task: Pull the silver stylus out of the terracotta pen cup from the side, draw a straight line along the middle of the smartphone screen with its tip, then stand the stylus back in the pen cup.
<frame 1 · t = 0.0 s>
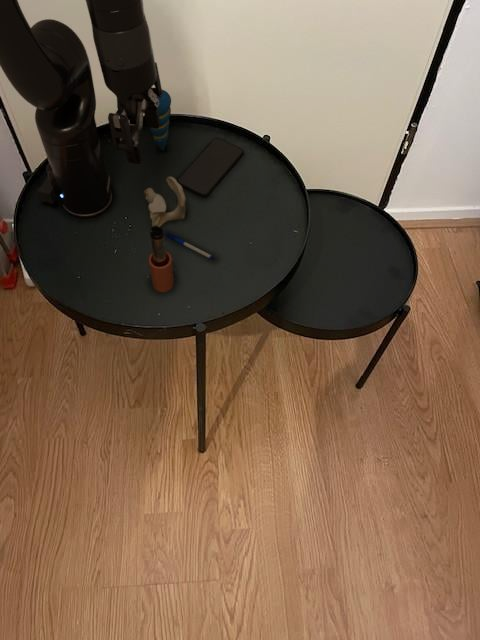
hand: (144, 144, 89), 17 cm above the table, tool pointing down, fingers open, 8 cm apart
bone: (162, 218, 104), on the table
smartphone: (210, 168, 111), on the table
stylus: (163, 281, 96), resting on pen cup
ballpoint pen: (190, 248, 101), on the table
pen cup: (163, 283, 97), on the table
ornament: (162, 150, 113), on the table
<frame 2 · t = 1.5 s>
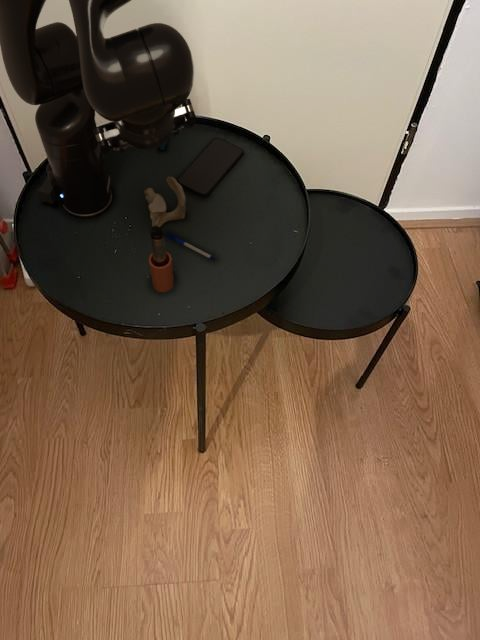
hand: (147, 136, 84), 21 cm above the table, tool tilted 40°, fingers open, 8 cm apart
nothing on the table moved.
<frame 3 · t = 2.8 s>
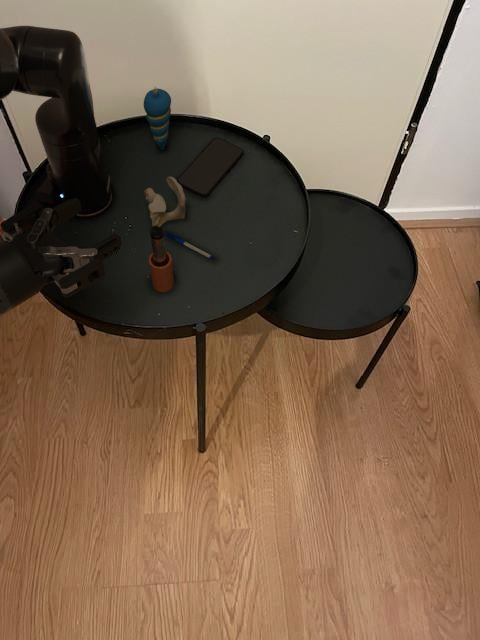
hand: (99, 221, 74), 23 cm above the table, tool horizontal, fingers open, 8 cm apart
nothing on the table moved.
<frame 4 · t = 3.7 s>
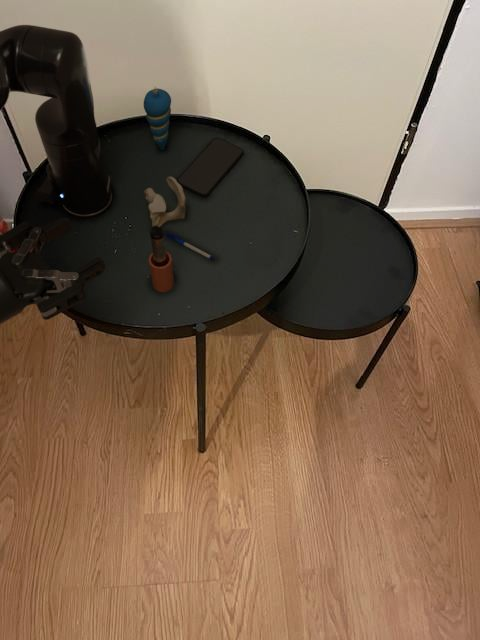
hand: (85, 242, 75), 20 cm above the table, tool horizontal, fingers open, 8 cm apart
nothing on the table moved.
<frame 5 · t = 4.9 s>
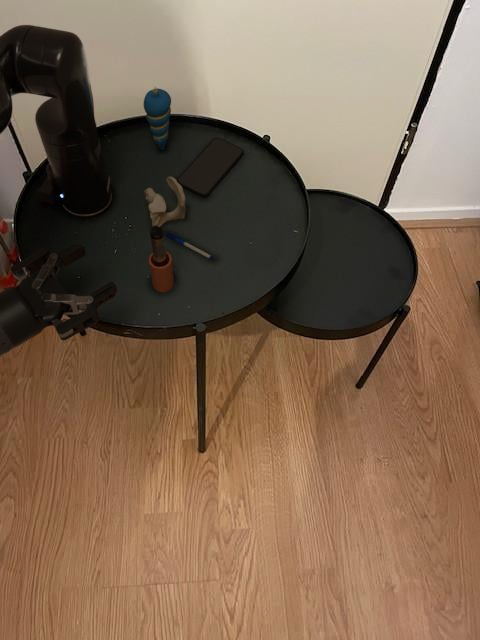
hand: (99, 267, 81), 14 cm above the table, tool horizontal, fingers open, 8 cm apart
nothing on the table moved.
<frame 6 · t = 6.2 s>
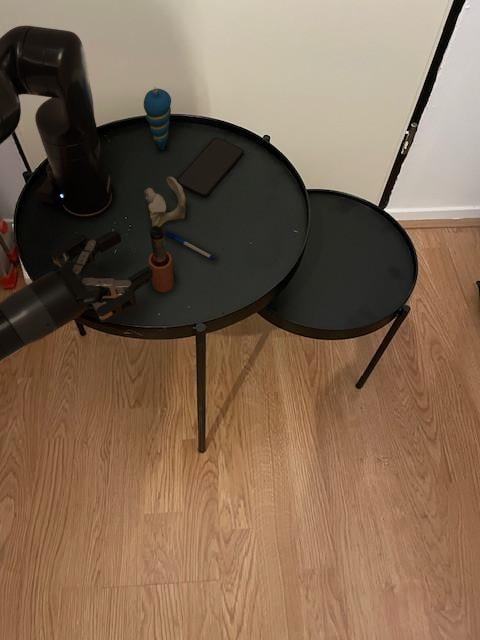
hand: (134, 252, 85), 12 cm above the table, tool horizontal, fingers open, 8 cm apart
nothing on the table moved.
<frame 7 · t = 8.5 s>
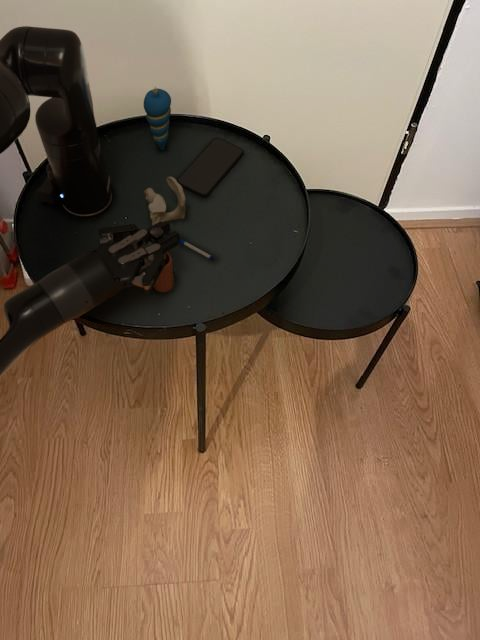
hand: (172, 230, 87), 12 cm above the table, tool horizontal, fingers closed on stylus, 2 cm apart
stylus: (163, 281, 96), point 1 cm above the table, touching gripper, pen cup
everything else where it was.
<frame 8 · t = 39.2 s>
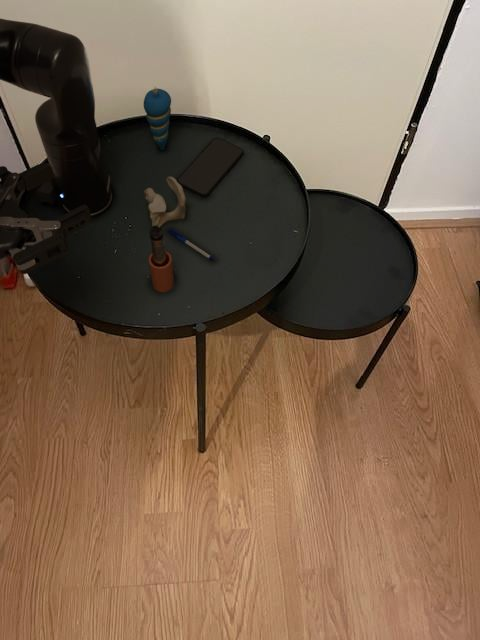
hand: (69, 189, 67), 30 cm above the table, tool horizontal, fingers open, 8 cm apart
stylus: (162, 282, 96), resting on pen cup
everything else where it was.
at the end: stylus 0.2 cm off-centre in the pen cup, point 0.5 cm above the pen cup's base; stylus tilted 0°; smartphone moved 0.0 cm from its start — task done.
